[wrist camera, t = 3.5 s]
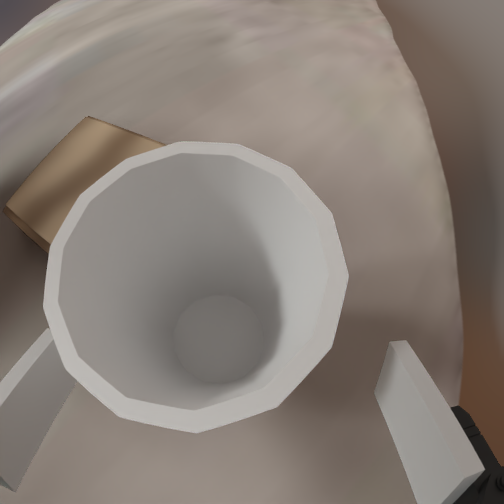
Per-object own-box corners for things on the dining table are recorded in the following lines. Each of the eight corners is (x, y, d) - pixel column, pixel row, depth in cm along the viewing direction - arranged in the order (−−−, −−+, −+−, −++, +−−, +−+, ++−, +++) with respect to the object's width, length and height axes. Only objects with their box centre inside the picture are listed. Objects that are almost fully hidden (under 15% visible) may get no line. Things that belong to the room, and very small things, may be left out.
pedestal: (21, 229, 24) (-2, 207, 21) (99, 139, 29) (86, 111, 25) (102, 297, 22) (78, 277, 18) (190, 179, 26) (183, 147, 23)
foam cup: (261, 258, 23) (274, 117, 12) (311, 379, 20) (399, 350, 8) (136, 299, 22) (40, 193, 10) (174, 425, 18) (76, 457, 6)
